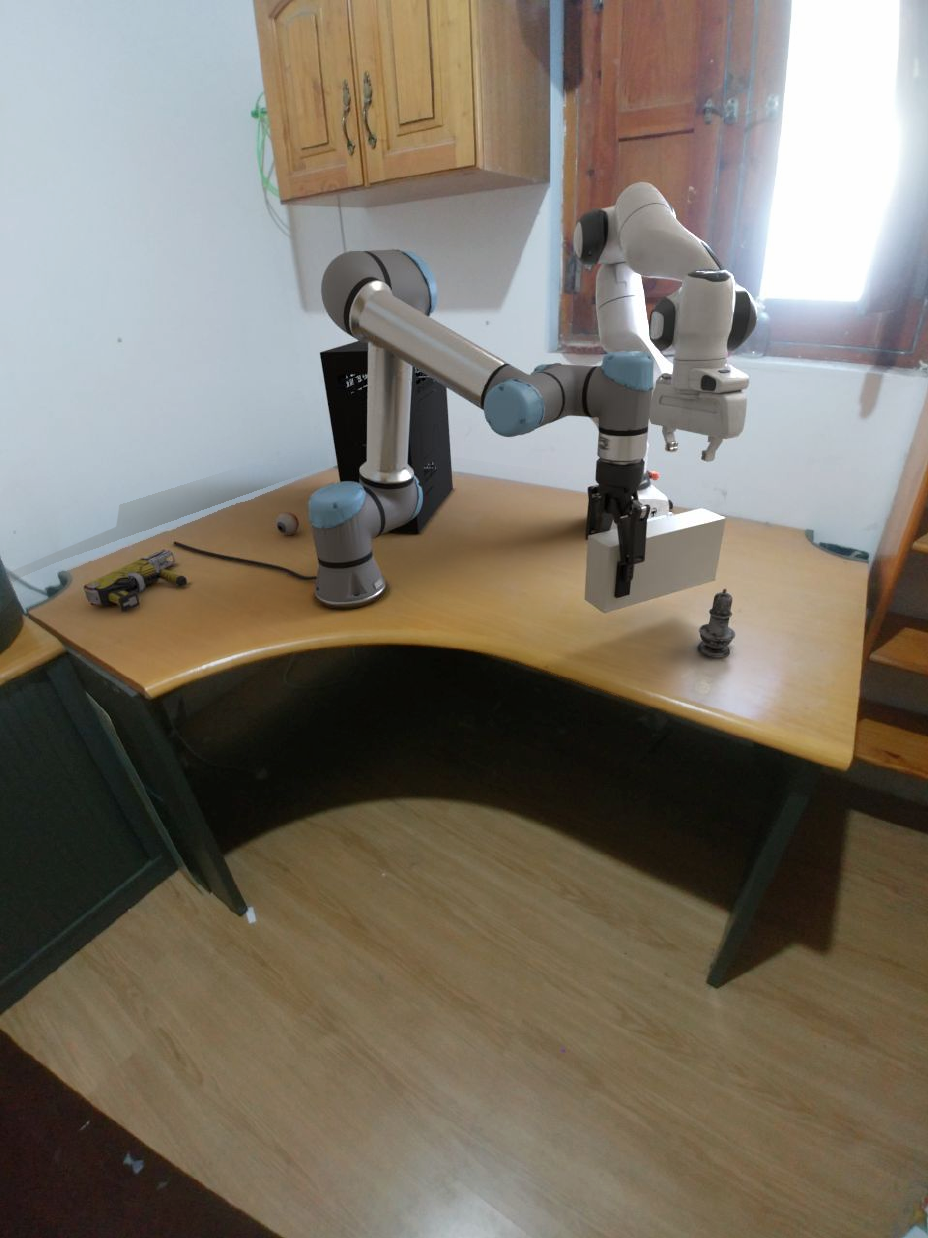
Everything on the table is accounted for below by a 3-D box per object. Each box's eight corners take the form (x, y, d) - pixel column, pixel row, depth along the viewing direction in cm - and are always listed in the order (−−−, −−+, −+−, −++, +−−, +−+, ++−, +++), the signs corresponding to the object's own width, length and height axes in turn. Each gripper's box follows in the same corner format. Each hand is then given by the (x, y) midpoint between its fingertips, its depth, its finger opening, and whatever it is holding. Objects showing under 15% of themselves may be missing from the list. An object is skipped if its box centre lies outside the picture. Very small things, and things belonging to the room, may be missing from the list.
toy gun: (210, 557, 146) (160, 546, 150) (132, 599, 126) (77, 585, 130) (213, 575, 148) (164, 564, 152) (137, 618, 128) (82, 604, 132)
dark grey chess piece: (734, 659, 103) (747, 597, 97) (698, 657, 104) (708, 596, 98) (728, 641, 108) (740, 581, 102) (694, 639, 109) (704, 580, 103)
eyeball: (273, 537, 164) (268, 516, 161) (287, 528, 169) (282, 508, 166) (291, 539, 161) (286, 518, 158) (305, 530, 166) (301, 510, 163)
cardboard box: (418, 533, 160) (401, 349, 138) (347, 530, 165) (319, 352, 142) (452, 488, 192) (443, 333, 169) (392, 487, 196) (375, 335, 174)
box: (692, 568, 119) (701, 507, 112) (715, 580, 114) (726, 517, 107) (584, 599, 110) (587, 535, 104) (603, 613, 105) (609, 547, 99)
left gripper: (567, 449, 102) (563, 572, 113) (640, 477, 87) (626, 616, 98) (604, 442, 104) (596, 563, 116) (681, 468, 89) (663, 605, 101)
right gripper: (644, 373, 113) (638, 448, 119) (728, 382, 96) (716, 469, 103) (670, 370, 115) (663, 444, 121) (758, 378, 98) (744, 463, 105)
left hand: (610, 587), depth 107 cm, fingers closed on box, 6 cm apart
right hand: (688, 455), depth 112 cm, fingers open, 8 cm apart
